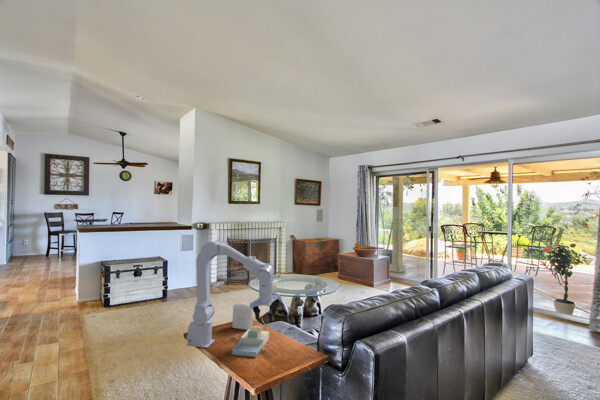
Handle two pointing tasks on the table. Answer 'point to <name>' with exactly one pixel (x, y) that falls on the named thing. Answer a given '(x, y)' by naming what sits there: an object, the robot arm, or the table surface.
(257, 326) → the terracotta tile
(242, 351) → the box
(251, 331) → the sage tile
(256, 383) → the table surface
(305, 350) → the table surface
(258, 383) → the table surface
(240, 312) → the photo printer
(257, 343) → the cream square block
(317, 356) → the table surface
